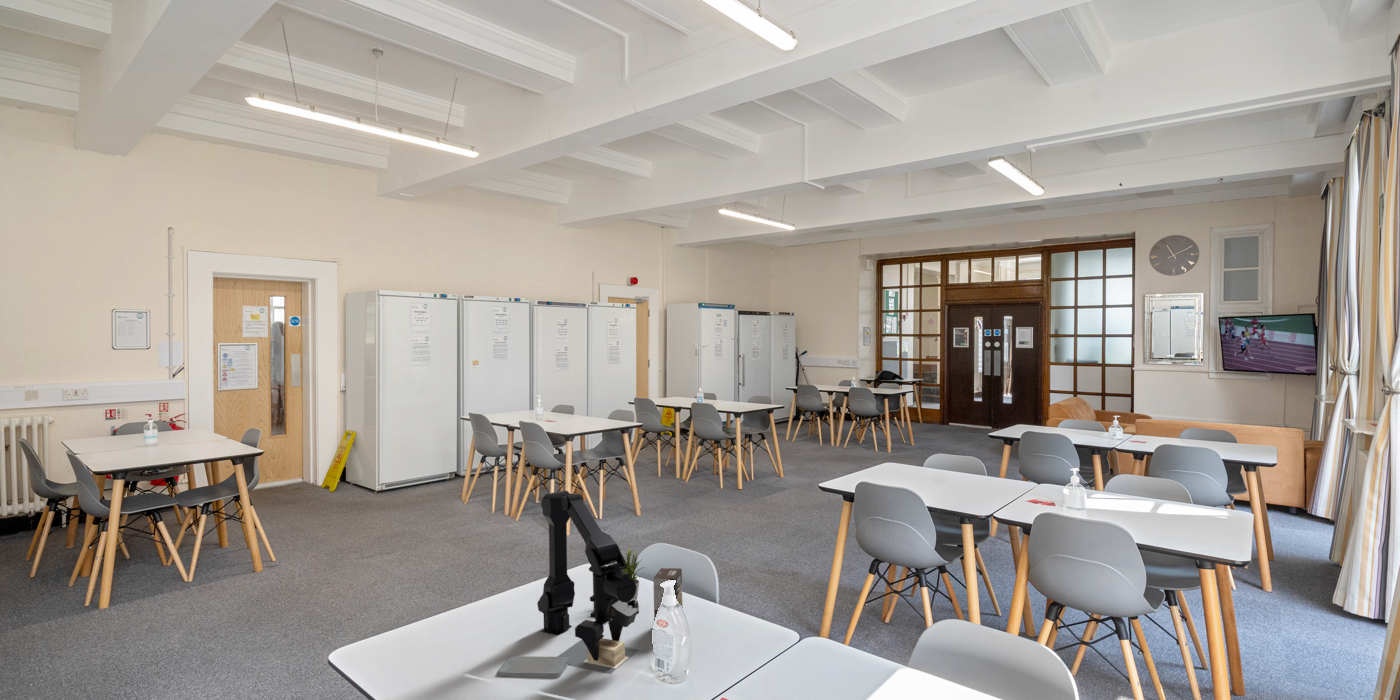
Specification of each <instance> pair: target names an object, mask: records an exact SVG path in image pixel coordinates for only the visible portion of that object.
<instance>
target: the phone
mask: <svg viewBox="0 0 1400 700" xmlns="http://www.w3.org/2000/svg"><path fill="white" fill-rule="evenodd" d="M568 663H569V658H568V657H557V656H533V655H531V656H525V655H524V656H523V655H522V656H520V655H519V656H515V655H514V656H513V655H511V656H508V657H507V659H506V660H505V661H504V662H503V664H502V665H501V666H500V668H499V669H498V670H497V672H496V675H497V676H498V677H516V678H517V677H519V678H520V677H522V678H525V677H526V678H554V679H558V678H560V677H561V676H562V675H563V672H565V669H566V668H567V667H568V666H569V665H568Z"/></svg>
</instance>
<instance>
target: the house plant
mask: <svg viewBox="0 0 1400 700" xmlns="http://www.w3.org/2000/svg"><path fill="white" fill-rule="evenodd" d="M632 552H633V549H632V550H631V548H630V547H629V548H628V550H627V553H626V555H627V556H626V560H625V564H626V567H627V568H626V569H623V570H622V571H623V572H627V573H629V578H631V579H633V580H634V582H635V584H636V593H635V595H634V597H633V598H632V599H635V600H637V601H638V597H639V596H638V595H639V588H640V580H639V579H637V578H641V576H640V575H639V576H636V575H637V572H639V571H640V570H642V569H646V568H647V566H646V567H645V566H644V567H640V568H638V570H636V569H637V567H638V566H639V564H640V563H641V562H642V560H638V552H637V553H636V551H634V552H633V556H632V560H631V554H632ZM637 560H638V561H637ZM630 562H631V563H630ZM616 563H617V562H614V563H613V564H616ZM635 571H636V572H635ZM632 599H631V600H632ZM631 600H630V601H631ZM628 602H629V601H628Z"/></svg>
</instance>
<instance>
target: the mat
mask: <svg viewBox="0 0 1400 700" xmlns="http://www.w3.org/2000/svg"><path fill="white" fill-rule="evenodd" d="M638 651H639V652H640V649H637V648H632V647H628V646H625V658H624V659H623V660H622V661H621V662H620V663H618V664H617V665H616V666H615V667H614V666H610V665H605V664H600V663H595V662H590V661H588V652H587V646H586V645H585V643H584V642H583V640H582V639H580V640H579V641H578V642H576V643H575V644H573V645H572V646H570V647H568V648H567V649H566V650H565V651H563V652H561V653H560V654H559V655H557V656H556V657H568V658H569V663H568V665H567V666H570V667H575V668H581V669H585V670H589V671H594V672H600V673H604V674H609V675H611V674H613V673H614V672H615V671H616V670H617V669H619V667H621V666H622V665H624V663H626V662H627V661H628V660H629V659H631V657H633V656H635V654H636V653H638Z"/></svg>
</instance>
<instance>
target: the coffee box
mask: <svg viewBox="0 0 1400 700" xmlns="http://www.w3.org/2000/svg"><path fill="white" fill-rule="evenodd" d="M682 571H683V570H682V568H680V567H679V568H676V567H675V568H674V567H673V568H672V567H671V568H669V567H668V568H666V567H665V568H662V567H660V569H659V570H658V572H656V574H655V576H654V577H653V610H654V611H653V613H654V614H653V616H654V617H653V619H654V621H655V617H656V614H657V611H658V608H659V607H660V605H661V602H662V597H663V593H664V588H663V587H661V586H660V584H661V583H663V582H665V581H668V580H676V583H675V585H674V590H675V595H676V599H677V601H678V602H679V604H680V605H681V606H682V608H683V609H684V607H683V606H684V605H683V601H684V600H683V573H682Z"/></svg>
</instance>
